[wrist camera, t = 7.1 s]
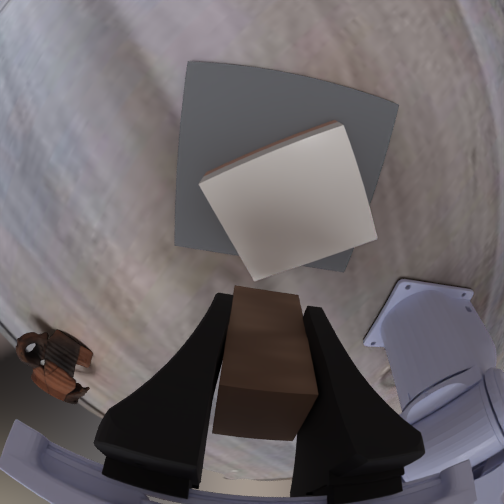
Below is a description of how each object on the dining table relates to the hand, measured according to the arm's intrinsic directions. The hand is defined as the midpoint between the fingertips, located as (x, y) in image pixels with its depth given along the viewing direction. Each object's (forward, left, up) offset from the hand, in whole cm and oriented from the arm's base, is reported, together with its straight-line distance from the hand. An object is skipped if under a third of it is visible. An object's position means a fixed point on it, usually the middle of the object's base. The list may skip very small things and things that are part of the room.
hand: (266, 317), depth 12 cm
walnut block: (0, +1, -2) cm, 2 cm away
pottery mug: (+23, +22, -9) cm, 33 cm away
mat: (0, -4, -8) cm, 9 cm away
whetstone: (-3, +1, -7) cm, 7 cm away
